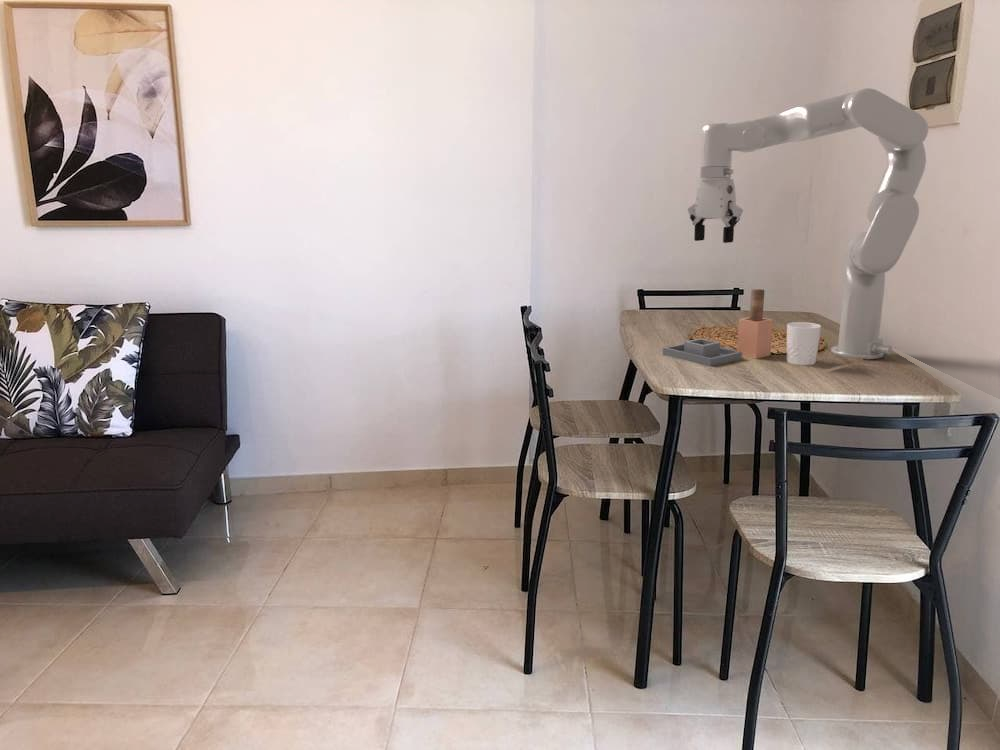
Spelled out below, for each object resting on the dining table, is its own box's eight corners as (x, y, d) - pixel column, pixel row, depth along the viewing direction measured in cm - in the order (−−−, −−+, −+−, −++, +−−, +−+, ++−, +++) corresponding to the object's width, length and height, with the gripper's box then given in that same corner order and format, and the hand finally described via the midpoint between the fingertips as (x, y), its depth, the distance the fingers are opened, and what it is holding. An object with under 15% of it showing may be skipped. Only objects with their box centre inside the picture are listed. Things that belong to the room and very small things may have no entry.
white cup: (801, 369, 192) (805, 329, 189) (777, 362, 199) (780, 324, 196) (824, 365, 195) (828, 326, 193) (799, 358, 202) (802, 320, 200)
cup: (770, 357, 204) (773, 319, 202) (755, 360, 201) (758, 322, 198) (751, 353, 209) (753, 316, 206) (736, 356, 206) (738, 319, 203)
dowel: (762, 354, 204) (767, 290, 200) (754, 356, 203) (759, 291, 198) (752, 352, 207) (756, 288, 203) (744, 354, 205) (748, 290, 201)
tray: (741, 361, 201) (742, 344, 200) (710, 368, 194) (711, 350, 193) (693, 350, 214) (694, 334, 212) (662, 356, 207) (663, 340, 206)
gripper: (752, 172, 196) (749, 242, 200) (700, 173, 210) (698, 238, 214) (732, 173, 192) (729, 244, 196) (680, 174, 206) (678, 240, 210)
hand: (713, 241), depth 205 cm, fingers open, 9 cm apart
